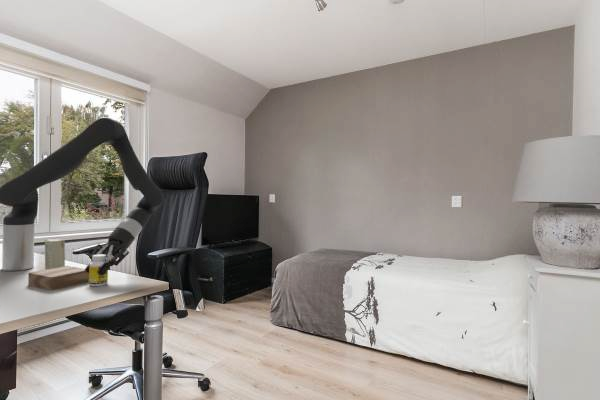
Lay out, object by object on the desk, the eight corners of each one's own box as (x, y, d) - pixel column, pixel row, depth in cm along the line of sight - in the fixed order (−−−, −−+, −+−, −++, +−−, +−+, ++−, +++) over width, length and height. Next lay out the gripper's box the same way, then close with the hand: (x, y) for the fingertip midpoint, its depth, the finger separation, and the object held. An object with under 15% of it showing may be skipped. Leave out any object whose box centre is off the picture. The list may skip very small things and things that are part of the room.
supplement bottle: (98, 287, 108) (99, 257, 107) (84, 285, 109) (85, 256, 108) (111, 282, 113) (112, 254, 113) (97, 281, 114) (98, 253, 114)
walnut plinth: (28, 284, 107) (28, 272, 107) (66, 276, 119) (66, 265, 118) (51, 290, 103) (51, 277, 103) (89, 281, 114) (89, 269, 114)
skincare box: (65, 272, 124) (65, 240, 124) (51, 274, 121) (52, 241, 120) (57, 269, 128) (58, 238, 128) (44, 272, 124) (44, 239, 124)
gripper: (105, 225, 120) (70, 264, 109) (134, 227, 114) (101, 269, 104) (118, 238, 125) (86, 276, 114) (146, 241, 119) (115, 282, 109)
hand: (93, 272), depth 109 cm, fingers closed on supplement bottle, 5 cm apart
